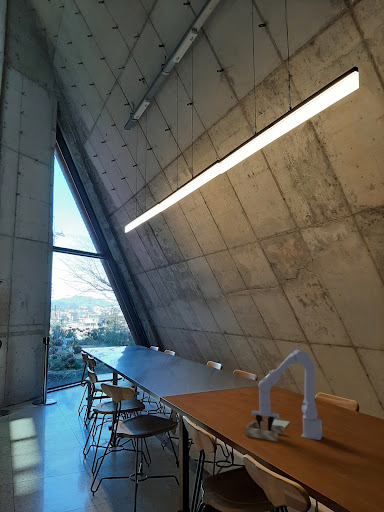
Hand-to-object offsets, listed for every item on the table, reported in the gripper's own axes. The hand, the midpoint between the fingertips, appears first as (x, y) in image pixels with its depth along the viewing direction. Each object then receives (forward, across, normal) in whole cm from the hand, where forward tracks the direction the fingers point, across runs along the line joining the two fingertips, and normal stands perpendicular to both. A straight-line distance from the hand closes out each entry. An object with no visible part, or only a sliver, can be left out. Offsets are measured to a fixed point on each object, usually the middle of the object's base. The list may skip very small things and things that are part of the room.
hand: (265, 431), depth 188 cm
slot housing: (+2, 0, 0) cm, 2 cm away
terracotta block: (+2, 0, 0) cm, 2 cm away
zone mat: (+2, 0, -22) cm, 22 cm away
